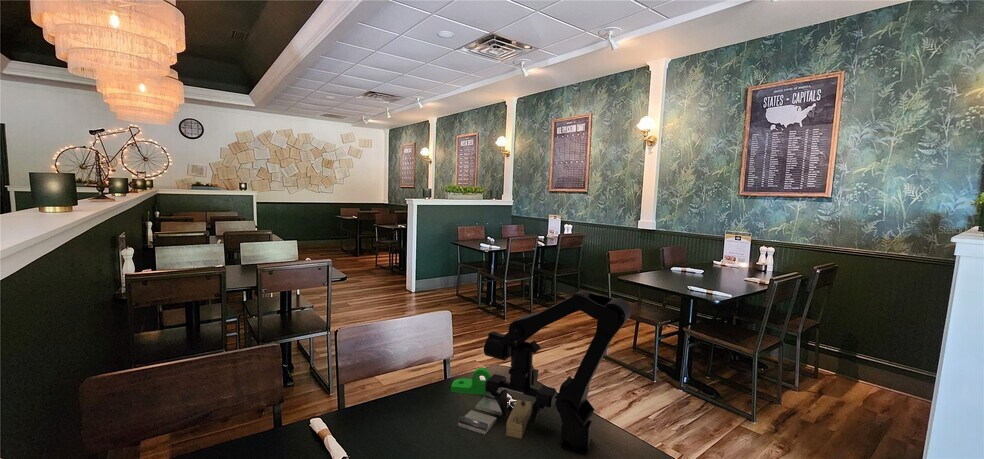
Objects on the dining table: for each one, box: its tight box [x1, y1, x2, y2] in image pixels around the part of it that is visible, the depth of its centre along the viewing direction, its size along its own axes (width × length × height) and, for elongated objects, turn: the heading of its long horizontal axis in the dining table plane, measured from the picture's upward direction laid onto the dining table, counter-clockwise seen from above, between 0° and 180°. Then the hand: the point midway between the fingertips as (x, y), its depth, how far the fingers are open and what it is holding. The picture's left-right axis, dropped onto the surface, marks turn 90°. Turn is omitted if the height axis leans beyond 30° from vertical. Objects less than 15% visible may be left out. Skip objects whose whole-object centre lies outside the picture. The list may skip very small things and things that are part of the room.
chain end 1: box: [475, 391, 512, 416], centre depth 120 cm, size 8×7×2 cm
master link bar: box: [505, 399, 532, 439], centre depth 111 cm, size 4×12×5 cm, turn 163°
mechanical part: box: [450, 366, 492, 396], centre depth 130 cm, size 12×6×8 cm, turn 83°
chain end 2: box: [457, 409, 498, 435], centre depth 111 cm, size 8×7×2 cm
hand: (519, 420), depth 111 cm, fingers open, 8 cm apart
